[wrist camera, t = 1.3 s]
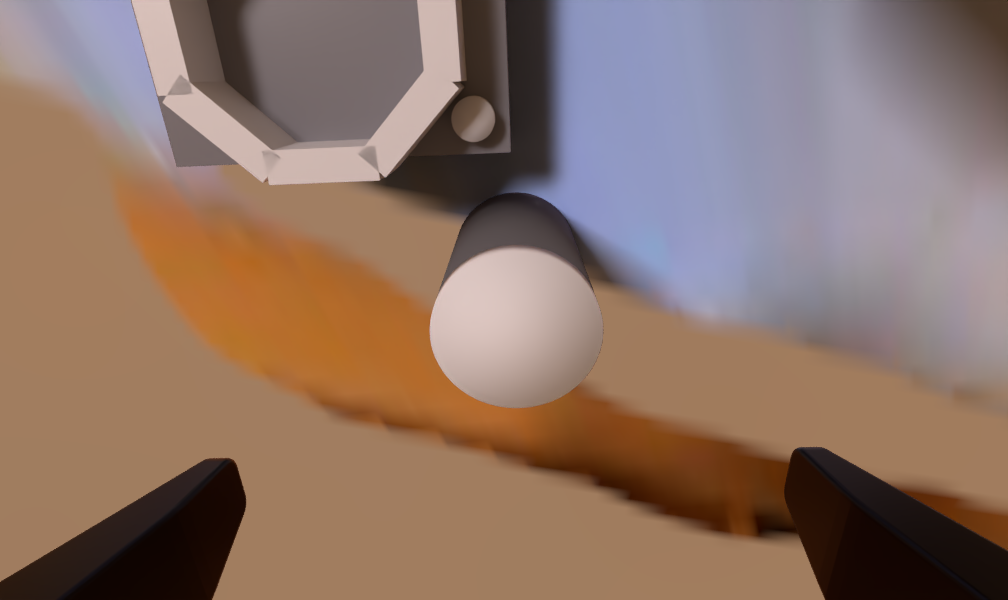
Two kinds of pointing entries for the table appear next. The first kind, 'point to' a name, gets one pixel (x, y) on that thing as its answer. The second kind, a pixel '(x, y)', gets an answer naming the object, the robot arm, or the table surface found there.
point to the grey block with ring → (327, 83)
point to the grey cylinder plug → (516, 306)
